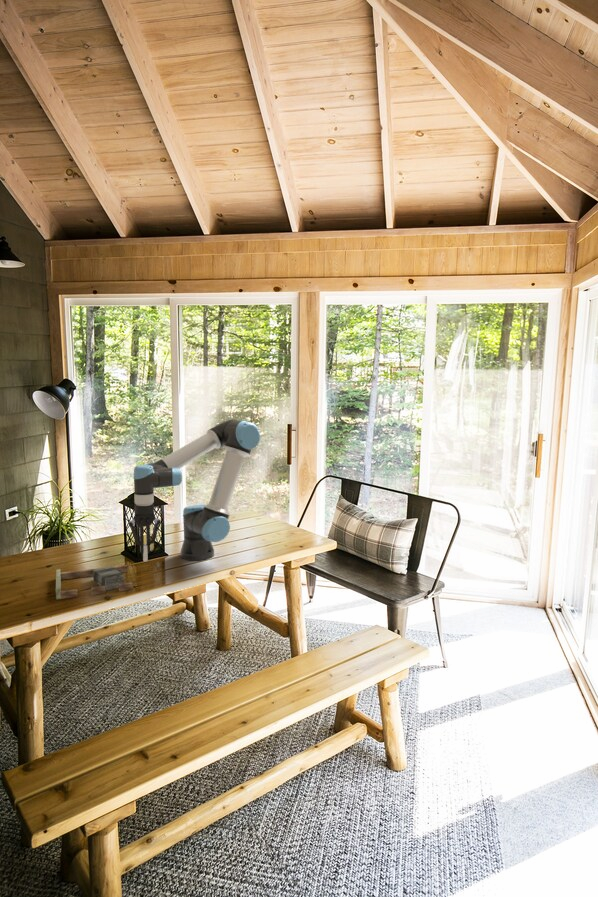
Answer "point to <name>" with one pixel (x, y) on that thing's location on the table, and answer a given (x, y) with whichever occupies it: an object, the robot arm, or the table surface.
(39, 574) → the table surface
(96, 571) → the stone block
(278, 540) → the table surface
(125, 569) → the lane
